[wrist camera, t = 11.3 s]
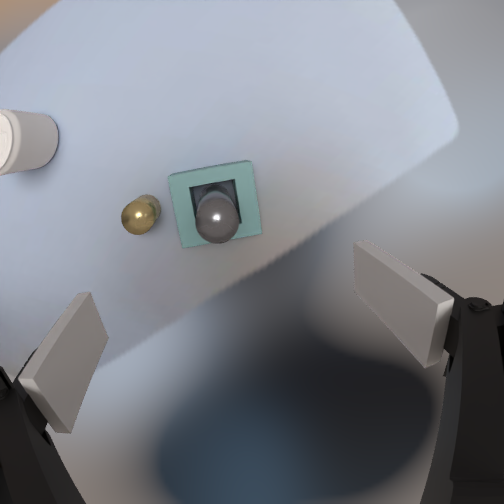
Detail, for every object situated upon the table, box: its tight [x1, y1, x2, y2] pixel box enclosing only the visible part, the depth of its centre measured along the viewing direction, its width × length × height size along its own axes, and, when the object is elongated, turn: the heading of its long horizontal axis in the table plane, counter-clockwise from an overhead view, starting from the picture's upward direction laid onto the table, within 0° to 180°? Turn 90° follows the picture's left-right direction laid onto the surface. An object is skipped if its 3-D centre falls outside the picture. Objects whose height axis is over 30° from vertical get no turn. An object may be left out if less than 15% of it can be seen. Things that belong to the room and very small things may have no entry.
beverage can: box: [0, 109, 58, 176], centre depth 28 cm, size 8×8×12 cm
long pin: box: [195, 184, 239, 243], centre depth 34 cm, size 4×4×14 cm
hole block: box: [168, 160, 262, 248], centre depth 39 cm, size 10×9×5 cm
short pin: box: [121, 195, 161, 235], centre depth 37 cm, size 4×4×6 cm
